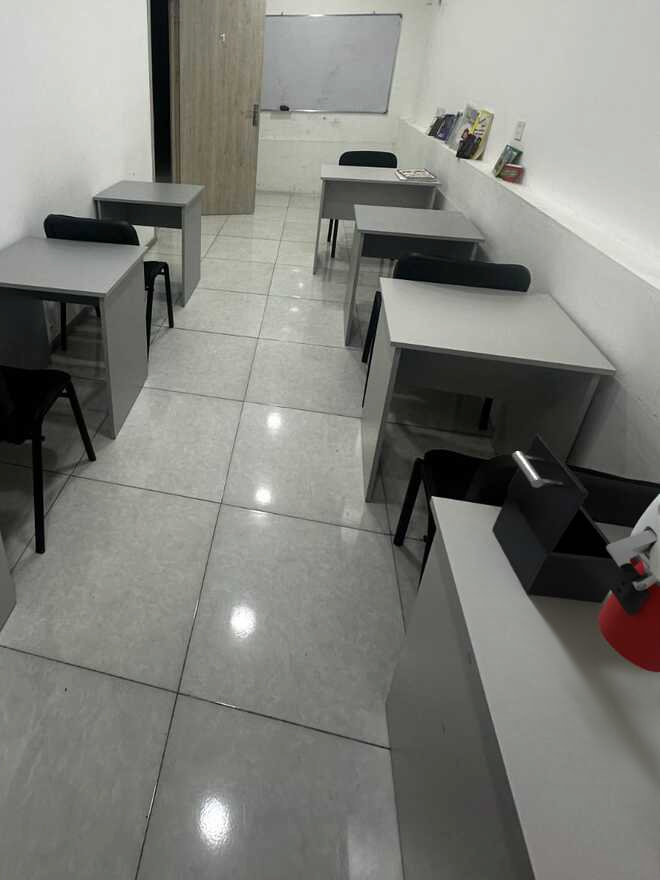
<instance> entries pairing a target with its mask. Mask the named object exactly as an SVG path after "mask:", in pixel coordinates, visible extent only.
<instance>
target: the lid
mask: <svg viewBox="0 0 660 880" xmlns="http://www.w3.org/2000/svg"><path fill="white" fill-rule="evenodd" d="M511 457H512V459H513V461H514V462H515V463H516V465H517V466H518V468H517V470H516V472H515V474H514V476H513V478H512V480H511V482H510V483H509V485H508V487H507V489H506V491H507V494H508V493H509V494H510V496H511V498H512V499H513V501H514V502H515V504H516V505H517V507H518V509H519V510H520V512H521V513H522V515H523V517H524V518H525V520H526V521H527V523H528V525H529V526H530V528H531V529H532V531H533V533H534V534H535V536H536V537H537V539H538V541H539V542H540V544H541V545H542V547H543V549H544V550H545V552H546V553H552V551H553V550H554V548H555V546H556V545H557V543H558V541H559V540H560V538H561V537H562V535H563V533H564V532H565V530H566V529H567V527H568V525H569V524H570V522H571V521H572V519H573V517H574V516H575V514H576V512H577V511H578V509H579V508H580V506H582V504H583V503H584V501H585V500H586V498H587V497H588V495H589V491H588V490H587V489H586V488H585V487H584V485H583V484H582V483H581V481H579V479H578V478H577V477H576V476H575V474H574V473H573V471H571V469H570V468H569V467H568V466H567V465H566V463H565V462H564V461H563V460H562V458H561V457H560V456H559V454H557V452H556V451H555V450H554V449H553V447H552V446H551V445H550V444H549V443H548V441H547V440H546V439H545V437H544V436H543V435H542V434H541V433H536V434H535V436H534V438H533V439H532V441H531V443H530V445H529V447H528V449H527V451H526V453H524V452H523V451H520V450H517V451H514V452H513V453H512V454H511Z"/></svg>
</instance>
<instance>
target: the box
mask: <svg viewBox="0 0 660 880" xmlns="http://www.w3.org/2000/svg"><path fill="white" fill-rule="evenodd" d="M492 529H493V531H494V533H495V535H494V537H495V538H496V541H497V542H498V544H499V543H500V544H499V546H500V545H501V546H500V548H501V547H502V548H501V549H502V551H503V554H504V555H505V556H506V559H507V561H508V562H509V564H510V566H511V568H512V570H513V572H514V574H515V575H516V577H517V579H518V581H519V583H520V585H521V587H522V588H523V590H524V592H525V594H526V595H528V596H535V597H537V596H538V597H547V598H555V599H563V600H564V599H565V600H572V601H573V600H574V601H581V602H591V603H599V604H603V603H604V601H605V600H606V598H607V597H608V595H609V593H610V591H611V589H610V585H611V583H612V582H613V580H614V578H615V577H616V575H617V573H618V572H619V570H620V568H619V567H618V565H617V564H616V563H615V561H614V560H613V558H612V557H611V555H610V554H609V552H608V551H607V549H606V546H607V545H608V544H611V543H612V542H610V540H609V539H608V537H606V535H605V534H604V532H603V531H602V530H601V529H600V527H599V526H598V525H597V524H596V522H595V521H594V520H593V518H592V516H590V515H589V513H588V512H587V511H586V509H585V508H584V507H583V505H581V506H580V508H579V509H578V511H577V512H576V514H575V516H574V517H573V519H572V521H571V522H570V524H569V525H568V527H567V529H566V530H565V532H564V533H563V535H562V537H561V538H560V540H559V541H558V543H557V545H556V546H555V548H554V550H553V551H552V553H546V552H545V550H544V549H543V547H542V545H541V544H540V542H539V541H538V539H537V537H536V536H535V534H534V533H533V531H532V529H531V528H530V526H529V525H528V523H527V521H526V520H525V518H524V517H523V515H522V513H521V512H520V510H519V509H518V507H517V505H516V504H515V502H514V501H513V499H512V498H511V496H510V494H509V493H508V492H507V495H506V496H505V499H504V501H503V503H502V506H501V508H500V511H499V513H498V514H497V517H496V520H495V522H494V524H493V526H492ZM492 529H491V530H492ZM493 531H492V532H493ZM494 533H493V534H494Z"/></svg>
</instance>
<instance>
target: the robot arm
mask: <svg viewBox="0 0 660 880" xmlns="http://www.w3.org/2000/svg"><path fill="white" fill-rule="evenodd" d="M610 543H611V544H608V545H607V546H606V549H607V551H608V552H609V554H610V555H611V557H612V558H613V560H614V561H615V563H616V564H617V565H618V567H619V568H620V570H619V572H618V573H617V575H616V577H615V578H614V580H613V582H612V583H611V585H610V589H611V590H610V591H611V594H612V593H613V594H614V596H615V597H616V598H617V600H618V601H619V603H620V604H621V606H622V607H623V608H624V610H625V611H626V613H627V614H628V615H632V616H635V615H636V614H637V613H638V611H639V610H640V609H641V607H642V606H643V604H644V603H645V601H646V600H647V598H648V597H649V595H650V593H649V591H648V589H647V588H648V587H650V586H651V585H653V584H655V583H656V582H658V581H660V493H659V494H658V495H657V496H656V497H655V498H654V500H652V502H651V503H650V505H649V506H648V507H647V508H646V510H645V511H644V512H643V514H642V515H641V516H640V518H639V519H638V521H637V523H636V524H635V526H634V528H633V529H632V531H631V534H630V536H628V537H624V538H622V539H620V540H616V541H614V542H610ZM642 561H644V562H645V563H646V565H647V566H648V567H649V568H650V570H649V571H647V572H645V573H644V574H642V575H640V574H639V573H638V571H637V570H636V569H635V567H634V566H636V565H637V564H639V563H640V562H642Z"/></svg>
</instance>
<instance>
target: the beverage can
mask: <svg viewBox="0 0 660 880" xmlns="http://www.w3.org/2000/svg"><path fill="white" fill-rule="evenodd" d="M634 567H635V569H636V570H637V571H638V573H639V574H640V575H642V574H644V573H645V572H647V571H649V570H650V568H649V567H648V566H647V565H646V563H645V562H644V561H642V562H640V563H639V564H637V565H636V566H634ZM647 589H648V591H649V593H650V595H649V597H648V598H647V600H646V601H645V603H644V604H643V606H642V607H641V609H640V610H639V611H638V613H637V614H636V615H635V616H632V615H628V614H627V613H626V611H625V610H624V608H623V607H622V606H621V604H620V603H619V601H618V600H617V598H616V597H615V596H614V594H613V593H612V592H611V594H610V595H609V597H608V599H607V601H606V602H605V604H604V606H603V608H601V611H600V612H599V614H598V618H597V620H598V621H597V623H598V626H599V630H600V632H601V634H602V636H603V637H604V639H605V641H606V642H607V643H608V644H609V646H611V648H612V649H613V650H614V651H616V653H617V654H619V656H621V657H622V658H623V659H625V660H626V661H628V662H629V663H631V664H633V665H634V666H636V667H638V668H640V669H642V670H645V671H648V672H651V673H660V581H658V582H656V583H655V584H653V585H651V586H650V587H648V588H647Z"/></svg>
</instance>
